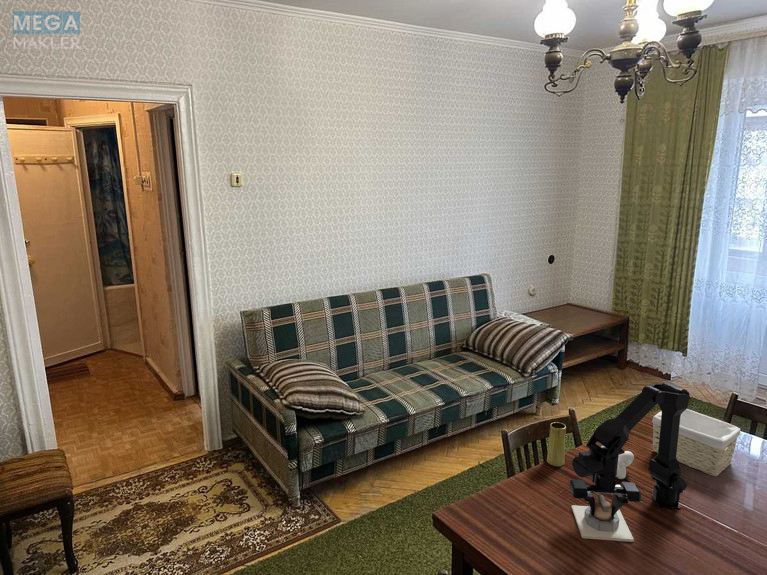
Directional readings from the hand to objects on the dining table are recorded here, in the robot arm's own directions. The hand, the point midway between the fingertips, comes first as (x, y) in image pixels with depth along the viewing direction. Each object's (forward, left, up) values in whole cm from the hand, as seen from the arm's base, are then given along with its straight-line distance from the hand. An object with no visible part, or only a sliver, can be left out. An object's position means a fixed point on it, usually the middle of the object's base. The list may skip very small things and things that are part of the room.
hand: (601, 515), depth 158 cm
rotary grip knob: (0, 0, -2) cm, 2 cm away
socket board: (0, 0, -3) cm, 3 cm away
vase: (+7, -33, -3) cm, 34 cm away
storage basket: (-42, -41, -3) cm, 58 cm away
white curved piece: (-11, -29, -3) cm, 31 cm away
